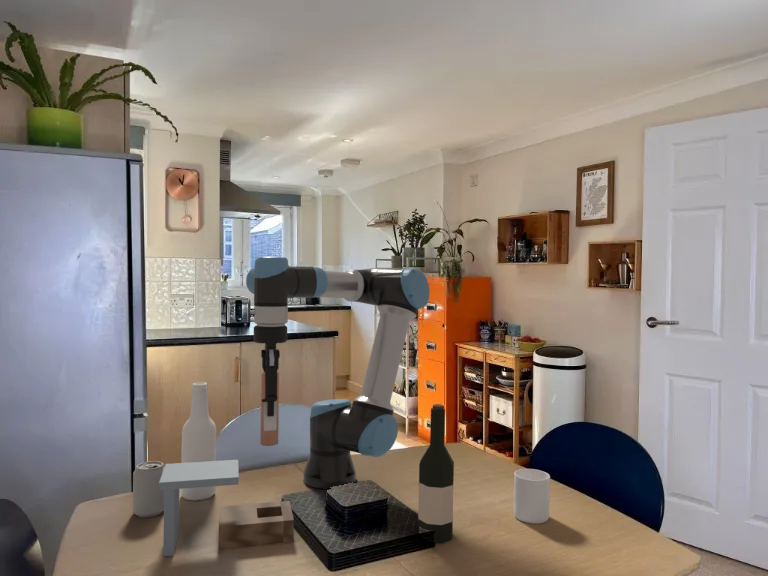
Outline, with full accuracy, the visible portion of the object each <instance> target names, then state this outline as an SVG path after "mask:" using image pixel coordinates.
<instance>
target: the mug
mask: <svg viewBox="0 0 768 576" xmlns="http://www.w3.org/2000/svg"><path fill="white" fill-rule="evenodd" d="M550 475H551V474H549V473H548V472H545V471H543V470H540V469H535V468H520V469H518V470H517V469H516V470H515V471H514V477H513V478H514V479H513V480H514V481H513V515H514V517H515V518H516V519H517V520H519V521H521V522H524V523H527V524H535V525H537V524H538V525H539V524H543V523H547V521H548V520H549V518H550V502H551V501H550V500H551V499H550V497H551V496H550V491H551V476H550Z"/></svg>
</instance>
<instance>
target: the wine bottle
mask: <svg viewBox="0 0 768 576" xmlns="http://www.w3.org/2000/svg"><path fill="white" fill-rule="evenodd" d="M445 421H446V408H444V405H443V404H441V403H440V404H438V403H436V404H432V407H430V428H429V429H430V430H429V431H430V435H429V436H430V437H429V438H430V439H429V446H428V447H427V448H426V450H425V452H424V454H423V456H422V457H421V459H420V461H419V464H418V465H419V467H418V474H419V475H418V510H417V511H418V513H417V514H418V515H417V516H418V518H417V519H418V520H417V527H418V526H420V527H421V528H423V529H426V530H433V531H435V533H434V543H433V544H444V543H447V542H450V541H452V540H453V529H454V528H453V527H454V525H453V519H454V518H453V517H454V485H455V484H454V480H455V478H454V477H455V476H454V475H455V472H454V471H455V461H454V460H453V458H452V456H451V455H450V453H449V451H448V449H447V447H446V445H445V428H446V427H445V425H446V422H445Z"/></svg>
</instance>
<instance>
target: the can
mask: <svg viewBox="0 0 768 576" xmlns="http://www.w3.org/2000/svg"><path fill="white" fill-rule="evenodd" d="M135 468H136V469H134V471H133V473H132V513H133V514H134V515H136V516H137V517H139V518H144V519H145V518H152V517H156V516H159V515H161V514H162V513H163V512H164V490H159V481H160V479H161V476H162V473H163V470H164V468H165V466H164V463H163V462H162V461H159V460H151V461H149V460H148V461H145V462H140V463H139V464H137V465H136V467H135Z"/></svg>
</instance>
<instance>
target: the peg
mask: <svg viewBox="0 0 768 576" xmlns="http://www.w3.org/2000/svg"><path fill="white" fill-rule="evenodd" d="M277 396H278V399H277V400H276V401H277V416H276V430H269V431H264V402H262V399H264V398H265V372H264V371H263V372H261V373H260V432H259V433H260V436H259V437H260V443H259V444H260V445H261V446H265V447H271V446H272V447H273V446H277V445H278V444H279V423H280V422H279V420H280V419H279V416H280V415H279V413H280V411H279V410H280V407H279V406H280V405H279V403H280V402H279V401H280V373H279V372H278V371H277Z"/></svg>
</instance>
